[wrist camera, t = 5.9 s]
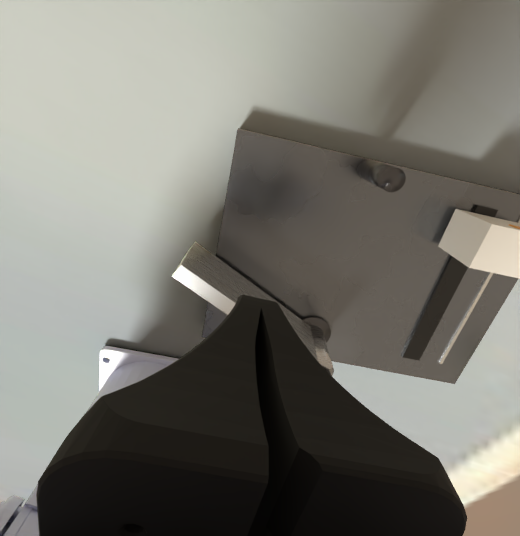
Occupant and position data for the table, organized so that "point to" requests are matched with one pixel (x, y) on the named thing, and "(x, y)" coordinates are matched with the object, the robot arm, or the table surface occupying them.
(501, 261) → the fader knob
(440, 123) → the table surface
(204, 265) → the door
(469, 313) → the console plate
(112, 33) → the table surface
